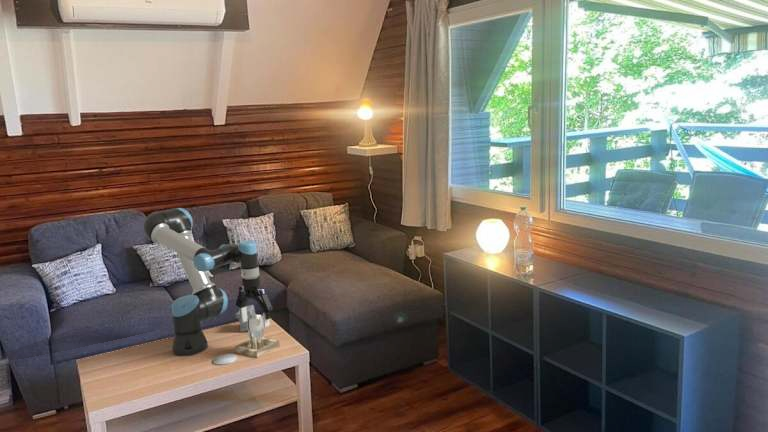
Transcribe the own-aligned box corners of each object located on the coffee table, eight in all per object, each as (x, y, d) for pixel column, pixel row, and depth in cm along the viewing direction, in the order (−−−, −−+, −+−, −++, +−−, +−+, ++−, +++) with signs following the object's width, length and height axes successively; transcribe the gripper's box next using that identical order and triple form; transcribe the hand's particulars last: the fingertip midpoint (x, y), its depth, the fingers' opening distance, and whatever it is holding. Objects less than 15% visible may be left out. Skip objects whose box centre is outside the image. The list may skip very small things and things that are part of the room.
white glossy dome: (208, 362, 259) (208, 360, 259) (226, 353, 267) (226, 352, 267) (224, 366, 253) (224, 365, 253) (242, 357, 261) (242, 356, 261)
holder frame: (235, 351, 268) (234, 346, 268) (257, 341, 279) (257, 335, 279) (257, 357, 261) (256, 352, 260) (279, 346, 272) (279, 341, 271)
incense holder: (241, 325, 300) (239, 305, 298) (258, 324, 301) (256, 304, 299) (237, 333, 291) (235, 312, 289) (254, 331, 291) (252, 311, 289)
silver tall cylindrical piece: (267, 345, 273) (264, 313, 270) (263, 352, 266) (259, 319, 263) (252, 346, 274) (249, 314, 271) (247, 352, 267) (244, 319, 264)
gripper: (224, 276, 268) (229, 322, 271) (265, 282, 254) (270, 331, 257) (237, 271, 274) (242, 317, 278) (277, 277, 260) (282, 325, 264)
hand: (255, 323), depth 267 cm, fingers open, 13 cm apart
